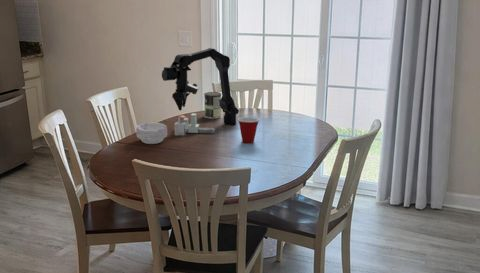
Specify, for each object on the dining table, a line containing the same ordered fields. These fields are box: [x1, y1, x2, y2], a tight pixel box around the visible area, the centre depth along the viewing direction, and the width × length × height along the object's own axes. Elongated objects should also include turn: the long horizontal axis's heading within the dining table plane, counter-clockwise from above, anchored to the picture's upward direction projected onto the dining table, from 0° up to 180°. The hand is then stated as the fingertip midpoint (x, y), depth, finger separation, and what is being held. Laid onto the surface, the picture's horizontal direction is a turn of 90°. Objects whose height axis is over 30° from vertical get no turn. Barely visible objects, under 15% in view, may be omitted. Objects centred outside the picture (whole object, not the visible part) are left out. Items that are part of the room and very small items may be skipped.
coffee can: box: [203, 91, 222, 120], centre depth 295 cm, size 10×10×14 cm
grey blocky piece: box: [174, 117, 190, 136], centre depth 263 cm, size 5×14×6 cm, turn 176°
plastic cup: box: [237, 117, 260, 144], centre depth 247 cm, size 11×11×12 cm
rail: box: [186, 127, 215, 134], centre depth 263 cm, size 14×3×2 cm, turn 86°
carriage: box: [188, 113, 200, 134], centre depth 262 cm, size 5×5×9 cm
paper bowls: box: [135, 122, 168, 145], centre depth 246 cm, size 15×15×8 cm
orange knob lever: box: [177, 114, 186, 122], centre depth 262 cm, size 4×4×5 cm
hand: (182, 108), depth 260 cm, fingers open, 8 cm apart
